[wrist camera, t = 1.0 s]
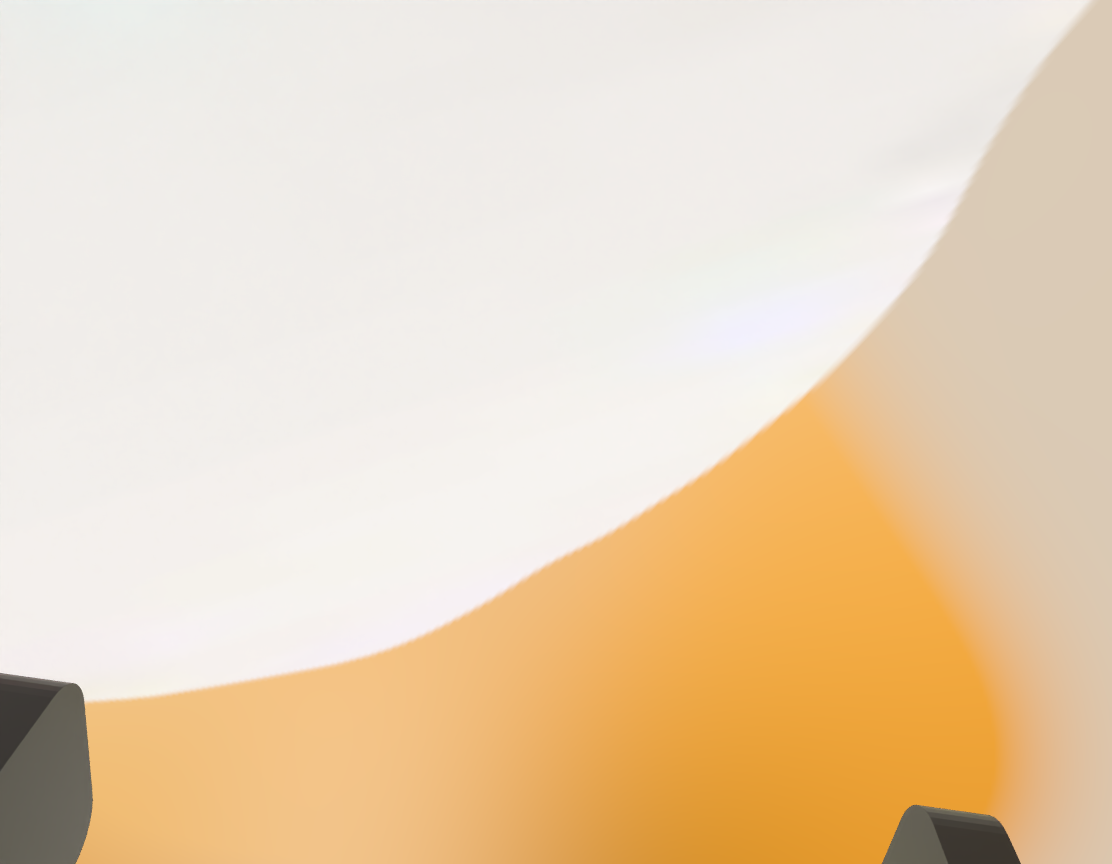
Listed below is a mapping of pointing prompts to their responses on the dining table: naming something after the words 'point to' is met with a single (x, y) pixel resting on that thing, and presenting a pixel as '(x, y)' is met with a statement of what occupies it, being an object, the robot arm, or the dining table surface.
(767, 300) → the dining table surface
